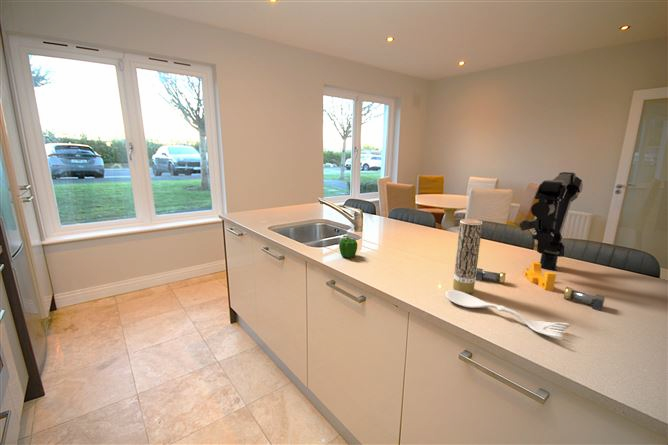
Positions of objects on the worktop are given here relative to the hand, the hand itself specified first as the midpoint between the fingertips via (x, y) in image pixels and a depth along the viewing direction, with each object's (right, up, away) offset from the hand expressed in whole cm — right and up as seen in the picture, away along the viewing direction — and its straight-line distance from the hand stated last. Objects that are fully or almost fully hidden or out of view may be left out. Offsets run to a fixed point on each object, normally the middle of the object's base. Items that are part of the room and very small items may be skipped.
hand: (540, 253), depth 115 cm
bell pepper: (-75, -4, +21) cm, 78 cm away
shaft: (0, -14, -20) cm, 24 cm away
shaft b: (-22, -10, -3) cm, 24 cm away
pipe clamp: (-5, -11, -5) cm, 13 cm away
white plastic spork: (-32, -16, -28) cm, 46 cm away
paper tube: (-36, -12, -12) cm, 39 cm away
